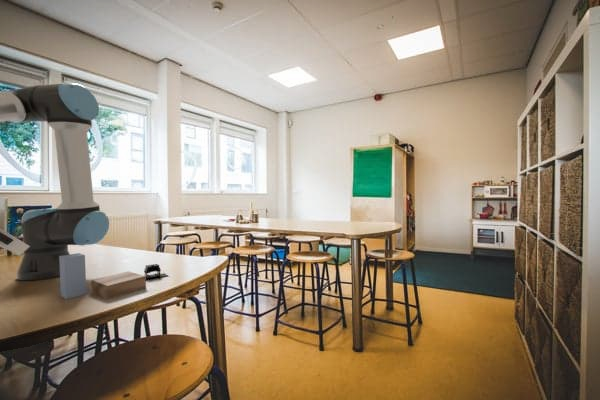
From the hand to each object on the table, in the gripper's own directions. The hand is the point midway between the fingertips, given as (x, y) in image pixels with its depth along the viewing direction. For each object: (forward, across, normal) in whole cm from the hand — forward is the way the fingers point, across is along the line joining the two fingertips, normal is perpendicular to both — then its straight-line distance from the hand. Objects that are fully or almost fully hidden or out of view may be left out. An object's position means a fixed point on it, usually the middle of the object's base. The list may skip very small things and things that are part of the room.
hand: (17, 248), depth 69 cm
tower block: (+18, 0, -3) cm, 18 cm away
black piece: (+33, +2, +11) cm, 35 cm away
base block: (+24, +7, +3) cm, 26 cm away
